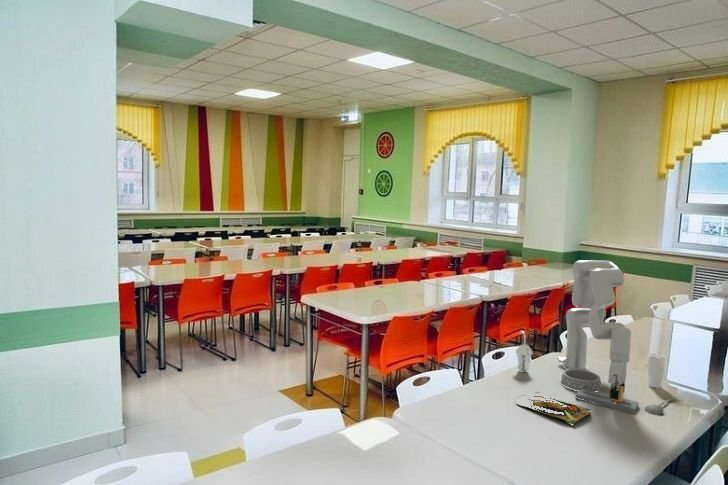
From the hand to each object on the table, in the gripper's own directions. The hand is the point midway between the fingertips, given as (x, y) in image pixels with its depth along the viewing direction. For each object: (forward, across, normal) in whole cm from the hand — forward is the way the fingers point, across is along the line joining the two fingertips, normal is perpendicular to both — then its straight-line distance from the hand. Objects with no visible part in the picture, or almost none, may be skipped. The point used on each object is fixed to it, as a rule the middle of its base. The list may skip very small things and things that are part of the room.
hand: (617, 395), depth 212 cm
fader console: (+4, 0, -4) cm, 6 cm away
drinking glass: (+4, -35, +8) cm, 36 cm away
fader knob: (+2, 0, 0) cm, 2 cm away
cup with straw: (+4, -13, -47) cm, 49 cm away
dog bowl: (+5, -14, -19) cm, 24 cm away
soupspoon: (+5, -11, +15) cm, 19 cm away
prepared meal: (+5, +23, -19) cm, 30 cm away
